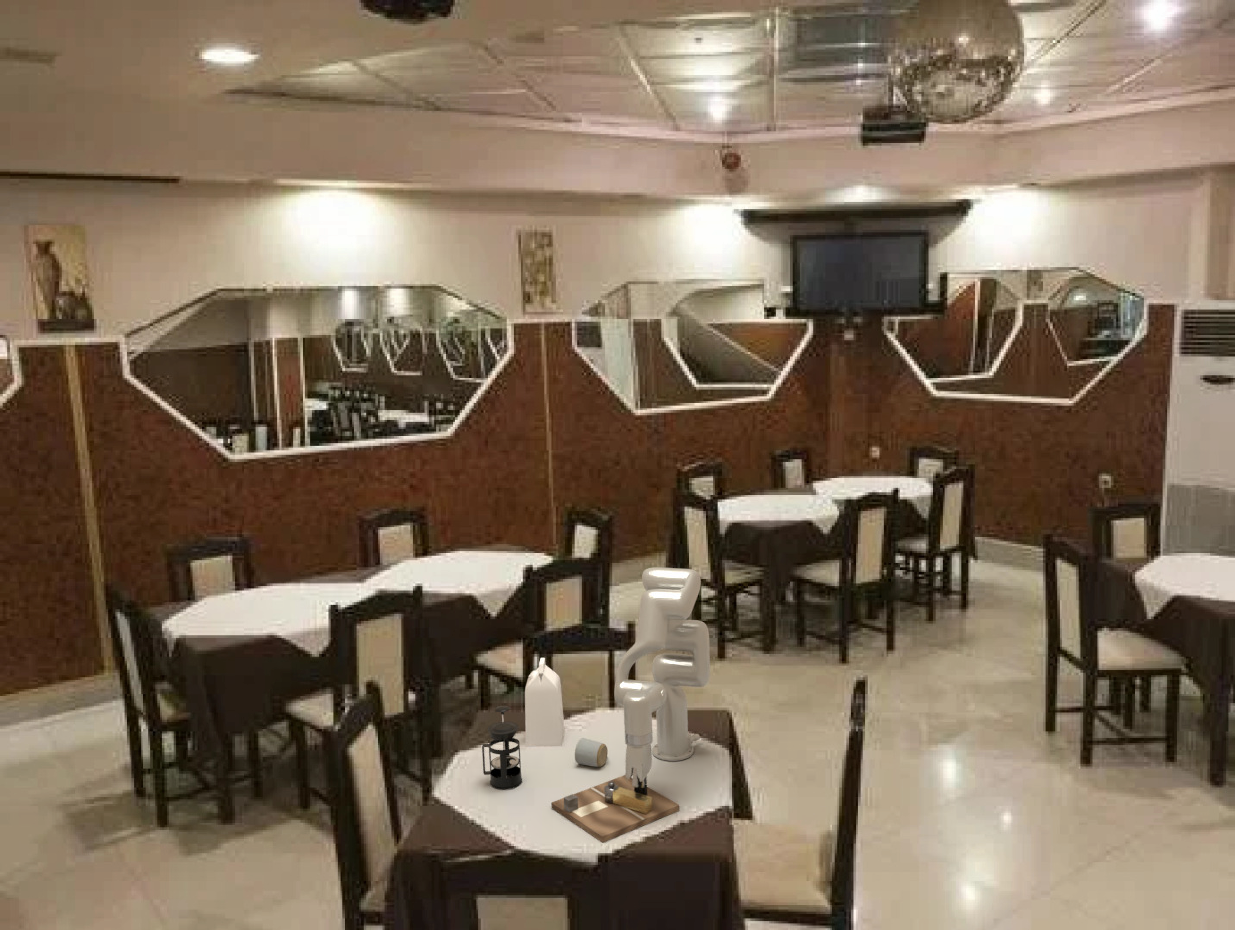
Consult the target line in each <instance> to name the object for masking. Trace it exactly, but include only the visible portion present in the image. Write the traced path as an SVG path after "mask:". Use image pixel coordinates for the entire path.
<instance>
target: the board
mask: <svg viewBox="0 0 1235 930" xmlns="http://www.w3.org/2000/svg"><path fill="white" fill-rule="evenodd" d="M610 781H613V782H615V785H618V786H619V787H621V788H624V789H627V790H631V791H634V787H632V781H633V777H631V778H630V780H626V774H624V775H621V776H619V777H616V778H614V779H610V780H608V781H604V782H603V783H600V784H598V785H594V786H591V787H589V788H587V789H584V790H581V791H578V792H575V793H572V794H570V795H566V796H564V797H563V798H560V799H557V800H555V801H552V802H551V803H550V804H551V806H550V807H551V809H552V810H554V811H555V812H557V813H558V814H560V815H561V816H563V817H564V818H566V819H567V820H569V821H570V822H572V823H573V824H574V825H576V826H577V827H579V828H580V829H582V830H584V831H585V832H586V833H588V834H589V835H591V836H592V837H594V839H597V840H598V841H600V842H601V843H605V842H607V841H609V840H612V839H615V838H617V837H620V836H621V835H624V834H626V833H629V832H631V831H633V830H636V829H638V828H641V827H642V826H645V825H647V824H648V825H649V824H651V823H653V822H655V821H657V820H659V819H662V818H665V817H667V816H669V815H673V814H674V813H676V812H679V811H680V804H679V803H677V802H676V801H673V800H671V799H670V798H668V797H666V796H664V795H663V794H661V793H659V792H657V791H656V790H654V789H653V788H651V787H649V786H647V796H650V797H652V810H650V811H649V812H647V813H646V814H644V813H641V812H638V811H635V810H632V809H629V808H626V807H623V806H620V805H617V804H614V803H608V802H606V801H605V791H604V787H605V786H606V785H608V782H610Z"/></svg>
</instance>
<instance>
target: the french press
mask: <svg viewBox="0 0 1235 930" xmlns="http://www.w3.org/2000/svg"><path fill="white" fill-rule="evenodd" d="M494 710H495V712H499V713H500V715H501V718H502V721H498V722H495V723H492V724H491V725H489V726H488V728H487V732H488V733H489V738H490V739H492V740H491V741H489V743H483V744H482V746H481V753H482V754H481V755H482V767H483V768H482V770H483V771H482V772H483V775H484V776H487V775H488V776H490V780H489V784H490V786H491V788H493V789H495V790H505V791H507V790H513V789H515V788H517V787H519V786H521V784H522V783H523V778H522V766H521V764H522V763H521V748H520V747H521V744H520V740H519V739H517V738H515V735H516V733H517V732H518V730H519V728H520V726H519V724H518V723H516V722H513V721H504V720H505V719H504V715H505V712H508V711H509V710H510V706H507V705H500V706H497V707H495V708H494ZM498 743H502V748H503V749H496V748H493V747H492V746H494V745H496V744H498ZM510 743H514V744H517V745H516V746H514V747H512V748H510ZM485 748H488V753H489V754H488V756H489V770H488V771H487V770H486V761H485V760H486V759H485V757H486V756H485ZM517 751H518V757H517V756H515V755H510V754H513V753H516V752H517ZM491 753H492V754H495V755H499V756H497V757H495V758H493V759H492V758H491V757H492V755H491Z"/></svg>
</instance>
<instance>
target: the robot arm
mask: <svg viewBox="0 0 1235 930" xmlns="http://www.w3.org/2000/svg"><path fill="white" fill-rule="evenodd" d="M701 580H702V579H701V576H700V574H699V572H698V571H697V570H694V569H691V568H679V567H678V568H676V567H674V568H673V567H661V566H660V567H649V568H646V569H644V570H643V572H642V575H641V581H642V585H643V588H644V590H645V591H644V592H643V593H642V595H641V598H640V601H639V602H640V604H639V613H638V622H637V630H636V638H635V639H636V640H635V642H634V644H633V645H632V646H631V647H630V648H629V649H628V650H627V651H626V653H624V655H623V656H622V658H621V659H620V661H619V664H618V666H617V669H616V677H615V685H614V700H615V703H616V704H617V705H618V706H619V707H623V721H624V722H623V724H624V742H625V745H626V749H625V751H626V752H625V775H626V780H630V778H633V781H632V787H634V792H637V793H640V794H643V795H646V796H647V787H648V784H647V783H648V774H649V772H650V770H652V765H653V757H655V758H657V759H659V760H662V761H668V762H676V761H684V760H686V759H689V758H690V757H692V756H693V754H694V747H693V745H692V744H693V743H694V742H697V741H699V740H700V739H701V737H700V734H698V733H696V734H692V735H691V733H689V731H688V730H689V721H688V720H689V719H688V698H687V694H686V692H685V689H683V687H690V688H704V687H706V686H707V685H708V683H709V680H710V673H711V671H710V670H711V666H710V664H711V662H710V660H711V659H710V632H709V629H708V625H707V624H706V623H705V622H703V621H702V620H697V619H688V618H689V617H690V616H691V614H692V612H693V609H694V606H695V604H696V601H697V599H698V595H699V593H700V590H701V585H702V584H701V583H702V581H701ZM661 650H666V651H673V653H672V652H663V653H659V654H656V656H655V657H654V658H653V660H652V663H651V671H652V677H653V681H647V680H639V679H638V680H634V679H628V678H629V674H630V670H631V668H632V667H633V665H634V664H636V662H637V661H638V660H640V659H642V658H644V657H645V656H648V655H650V654H654V653H657V652H659V651H661ZM674 651H676V652H685V653H687V652H689V653H691V654H684V653H674ZM654 712H655V715H656V717H655V718H656V744H655V745H654V746H653V747H652V744H653V741H654V740H653V717H652V714H653V713H654ZM652 755H653V756H652Z"/></svg>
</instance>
